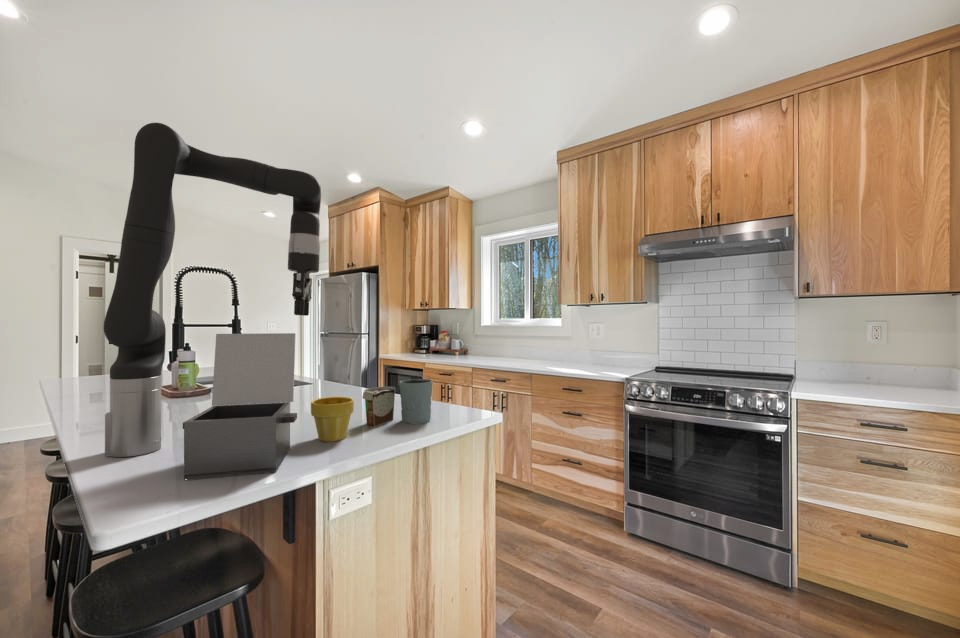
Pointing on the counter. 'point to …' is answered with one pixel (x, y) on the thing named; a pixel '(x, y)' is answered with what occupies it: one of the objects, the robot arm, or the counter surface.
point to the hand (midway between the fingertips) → (301, 315)
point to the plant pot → (332, 417)
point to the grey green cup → (416, 400)
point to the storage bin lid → (253, 368)
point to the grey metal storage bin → (237, 440)
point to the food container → (379, 405)
